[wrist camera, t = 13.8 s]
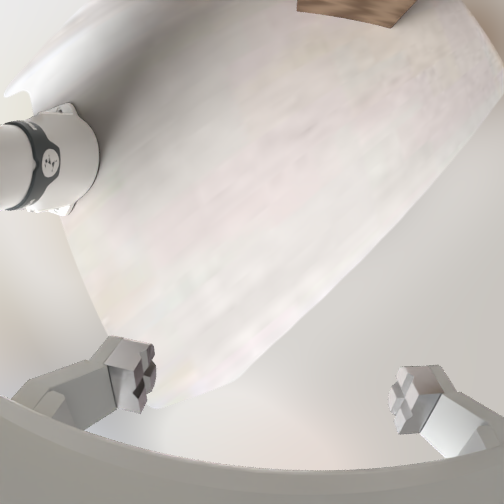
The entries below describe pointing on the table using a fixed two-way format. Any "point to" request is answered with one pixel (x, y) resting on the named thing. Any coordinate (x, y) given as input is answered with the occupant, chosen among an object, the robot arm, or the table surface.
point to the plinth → (359, 9)
